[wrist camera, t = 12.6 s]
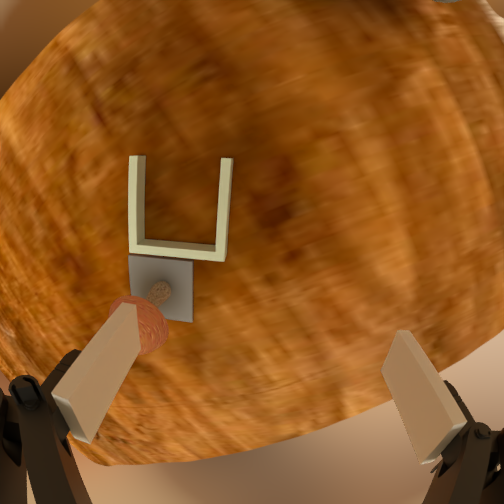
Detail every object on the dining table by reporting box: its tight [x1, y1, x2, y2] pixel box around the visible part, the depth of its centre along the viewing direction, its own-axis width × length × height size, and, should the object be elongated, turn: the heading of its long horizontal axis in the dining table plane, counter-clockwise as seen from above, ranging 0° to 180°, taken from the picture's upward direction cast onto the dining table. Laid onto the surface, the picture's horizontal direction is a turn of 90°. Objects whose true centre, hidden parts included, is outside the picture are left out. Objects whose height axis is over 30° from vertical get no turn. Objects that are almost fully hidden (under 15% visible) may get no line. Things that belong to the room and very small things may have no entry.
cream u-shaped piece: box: [128, 156, 233, 262], centre depth 38 cm, size 13×13×3 cm
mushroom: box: [108, 281, 171, 355], centre depth 35 cm, size 8×8×15 cm
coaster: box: [128, 254, 194, 322], centre depth 43 cm, size 10×10×1 cm
